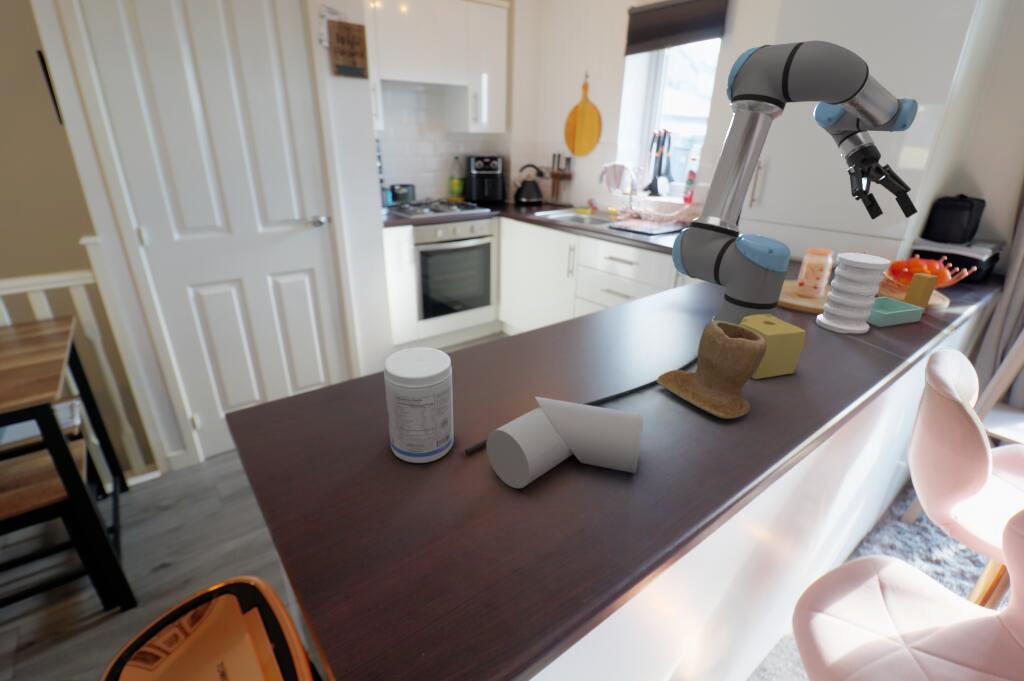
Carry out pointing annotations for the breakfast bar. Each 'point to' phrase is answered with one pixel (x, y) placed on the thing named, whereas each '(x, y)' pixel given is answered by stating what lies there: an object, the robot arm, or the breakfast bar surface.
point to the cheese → (776, 344)
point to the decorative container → (852, 292)
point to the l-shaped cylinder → (564, 440)
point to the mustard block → (920, 289)
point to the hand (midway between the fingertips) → (895, 215)
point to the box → (893, 312)
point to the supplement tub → (419, 403)
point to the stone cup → (719, 370)
